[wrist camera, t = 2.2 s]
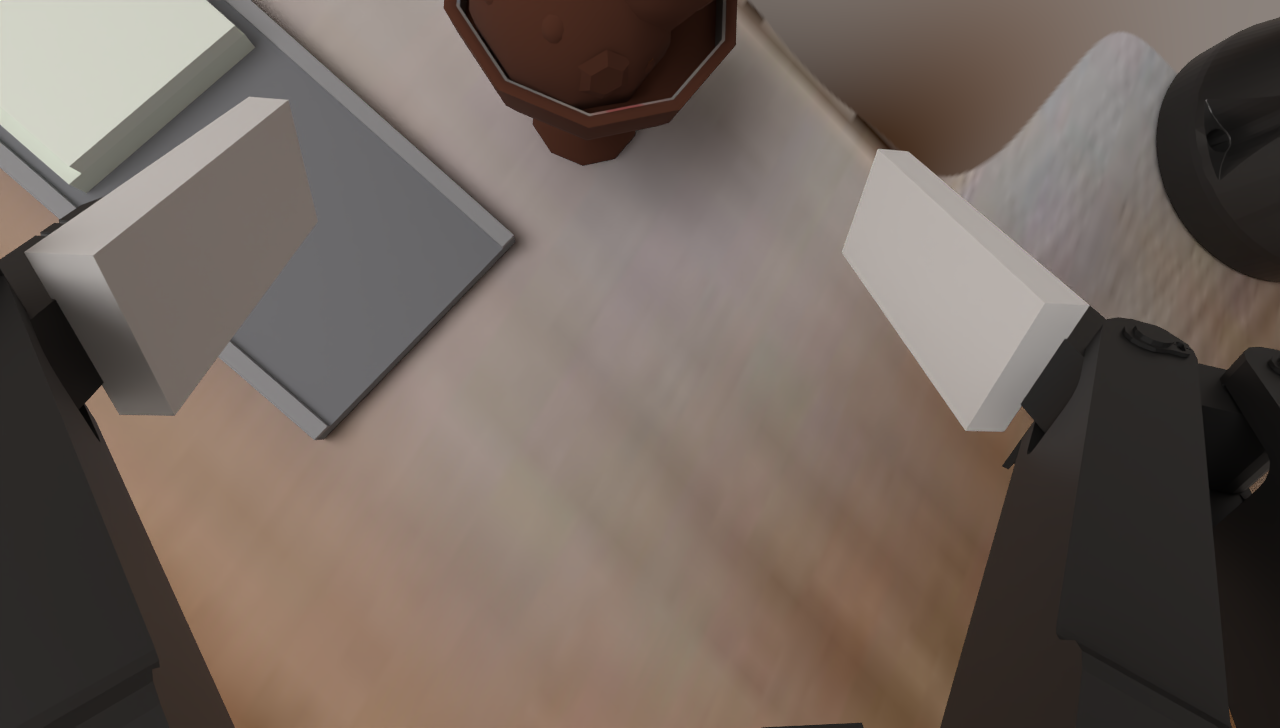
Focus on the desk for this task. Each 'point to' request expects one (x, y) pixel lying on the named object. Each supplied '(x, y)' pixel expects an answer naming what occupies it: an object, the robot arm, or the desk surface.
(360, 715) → the desk surface
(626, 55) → the ice cream bowl
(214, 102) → the tray
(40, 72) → the pale green flat block
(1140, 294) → the desk surface
